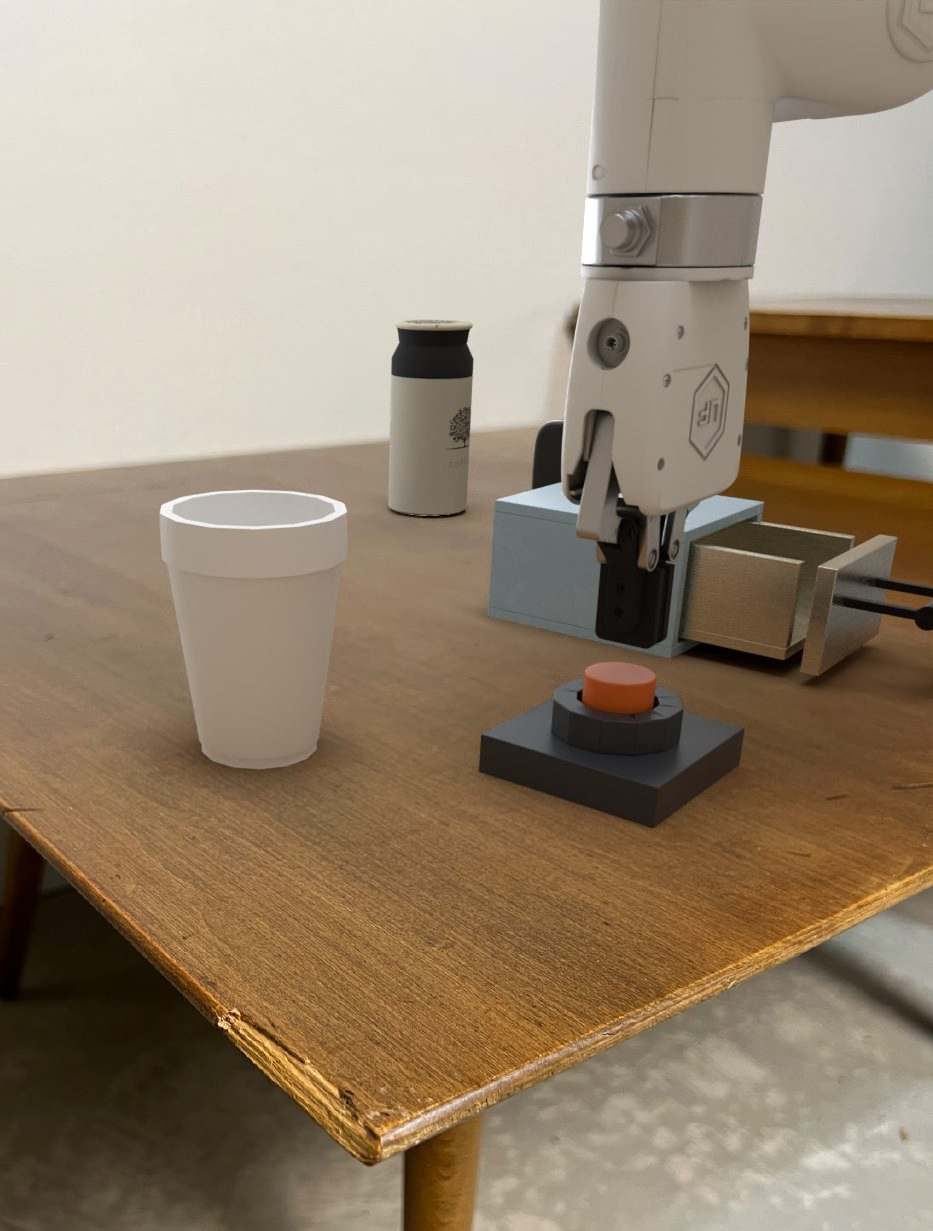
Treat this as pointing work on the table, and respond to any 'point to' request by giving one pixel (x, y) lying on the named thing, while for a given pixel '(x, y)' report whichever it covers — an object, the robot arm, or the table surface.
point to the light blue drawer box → (579, 564)
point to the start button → (619, 687)
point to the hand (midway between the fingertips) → (630, 639)
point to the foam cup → (255, 616)
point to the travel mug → (430, 417)
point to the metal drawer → (792, 592)
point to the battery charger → (548, 455)
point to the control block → (613, 754)
